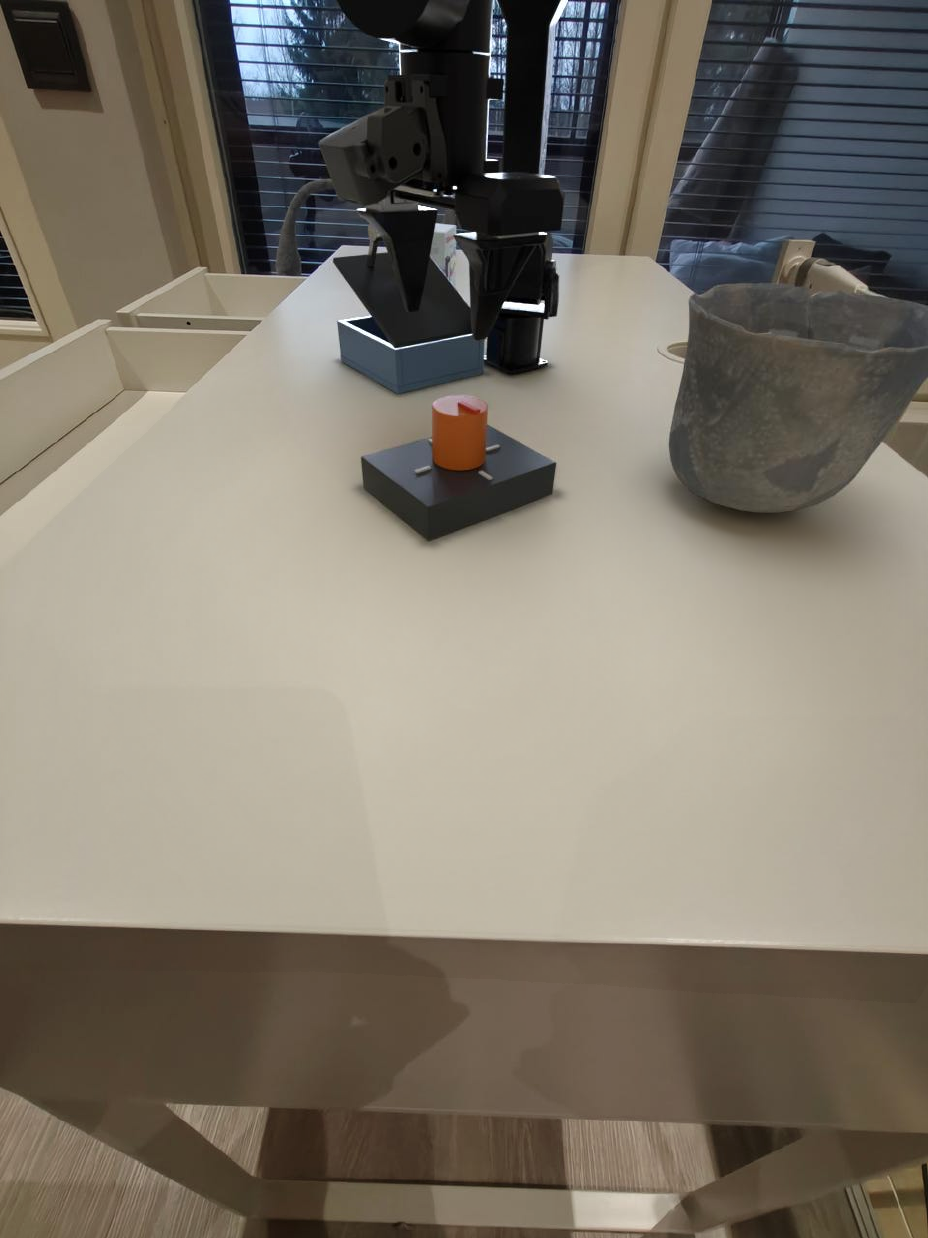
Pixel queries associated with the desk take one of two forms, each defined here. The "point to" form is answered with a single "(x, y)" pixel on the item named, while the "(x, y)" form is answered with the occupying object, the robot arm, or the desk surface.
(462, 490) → the control panel
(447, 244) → the ink box
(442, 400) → the dial
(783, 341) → the grey stone pot
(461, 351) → the blue open box
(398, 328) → the lid
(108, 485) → the desk surface
